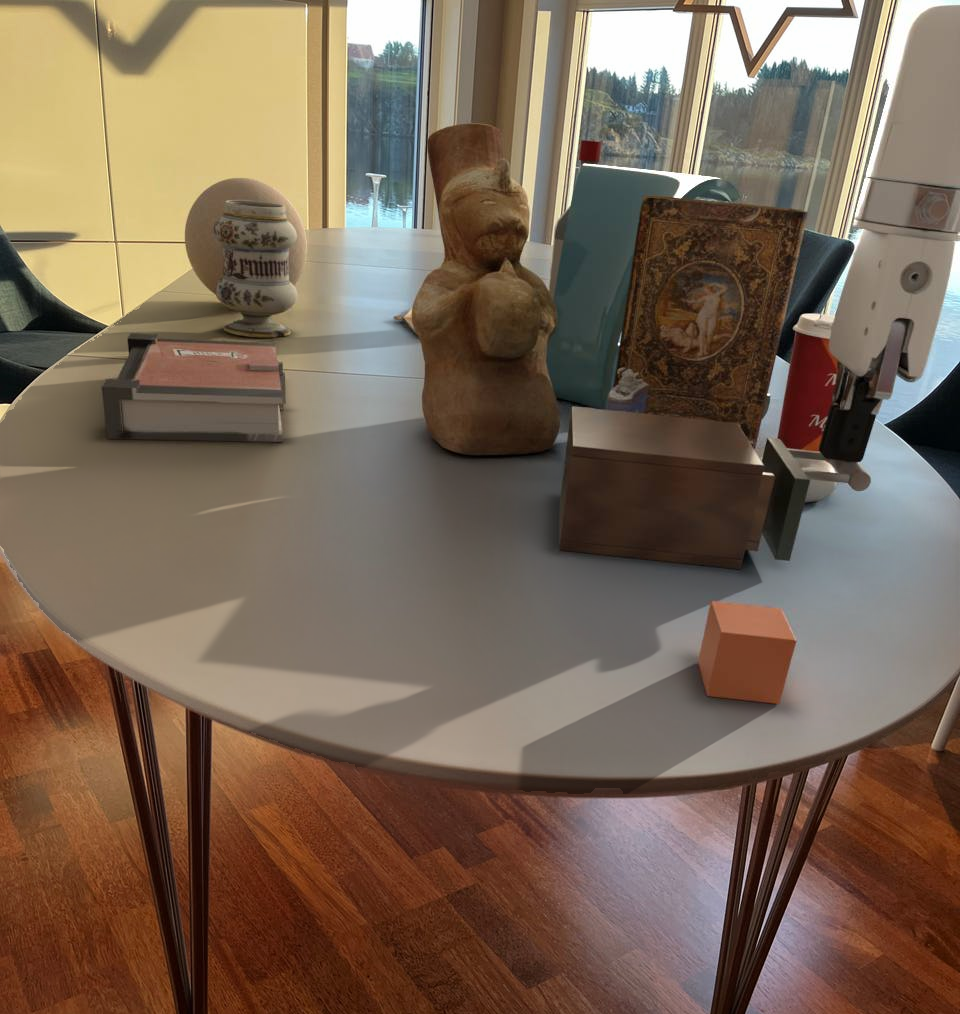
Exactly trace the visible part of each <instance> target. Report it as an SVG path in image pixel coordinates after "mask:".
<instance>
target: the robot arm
mask: <svg viewBox="0 0 960 1014" xmlns="http://www.w3.org/2000/svg"><path fill="white" fill-rule="evenodd" d="M895 62H896V63H895V66H894V70H893V73H892V78H891V82H890V84H889V88H888V93H887V97H886V99H885V103H884V107H883V111H882V115H881V118H880V123H879V127H878V130H877V133H876V136H875V140H874V145H873V148H872V151H871V156H870V158H869V163H868V166H867V170H866V174H865V178H864V181H863V185H862V188H861V193H860V196H859V199H858V203H857V207H856V210H855V211H856V212H855V213H854V214H855V215H854V219H853V223H852V228H855V229H858V230H861V233H860V236H859V239H858V241H857V245H856V247H855V250H854V252H853V256H852V259H851V261H850V265H849V268H848V271H847V274H846V277H845V280H844V284H843V287H842V290H841V292H840V293H841V294H840V296H839V300H838V303H837V307H836V310H835V314H834V315H835V318H834V322H833V326H832V330H831V335H830V340H829V350H830V353H831V354H832V355H833V356H834V357H835V358H836V359H837V360H838V363H837V369H838V375H837V380H836V384H835V388H834V392H833V397H832V403H833V404H838V405H833V404H831V406H830V410H829V413H828V417H827V420H826V424H825V428H824V431H823V435H822V438H821V442H820V445H819V451H820V453H821V454H822V455H823V456H824V457H825V458H826V459H833V460H841V461H849V462H858V463H860V462H862V461H863V459H864V457H865V454H866V450H867V447H868V444H869V440H870V438H871V434H872V431H873V427H874V424H875V421H876V418H877V415H878V414H879V412H880V410H881V407H882V405H883V401H885V400H887V401H888V400H890V399H891V398H892V395H893V392H894V387H895V383H896V378H897V377H898V378H900V379H902V380H903V381H904V382H907V383H915V382H917V381H919V380H920V379H921V378H922V377H923V375H924V373H925V370H926V367H927V364H928V360H929V357H930V353H931V349H932V346H933V342H934V339H935V335H936V332H937V329H938V324H939V321H940V317H941V314H942V310H943V305H944V302H945V298H946V293H947V289H948V285H949V280H950V276H951V271H952V266H953V265H952V264H953V259H954V253H955V245H956V242H960V4H948V5H936V6H931V7H928V8H925V9H922V10H921V11H920V12H918V13H917V14H915V16H914V17H913V18H911V21H910V22H909V23H908V25H907V27H906V29H905V31H904V34H903V37H902V40H901V44H900V48H899V51H898V55H897V58H896V61H895Z"/></svg>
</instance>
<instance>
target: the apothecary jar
mask: <svg viewBox="0 0 960 1014" xmlns="http://www.w3.org/2000/svg"><path fill="white" fill-rule="evenodd" d="M214 234H215V236H216V238H217V239H218V240H219V241H220V242H221V243H222V244H223V276H222V277H221V278H220V279H219V280H218V282H217V283H216V286H215V294H216V295H215V294H214V295H215V297H216V298H217V300H218V301H219V302H220V303H221V304H222V305H223V306H225V307H226V308H228V309H230V310H231V311H234V312H237V313H240V314H241V315H242V318H240V319H235V320H233V322H229V323H228V324H226V325H225V326H224V327H223V330H224V332H226V333H227V334H231V335H235V336H239V337H246V338H256V339H274V338H277V337H288V336H290V334H291V330H290V329H289V328H288V327H286V326H284V325H282V324H281V323H280V322H278V321H275V320H271V317H272V316H274V315H278V314H282V313H284V312H286V311H288V310H290V309H292V307H293V306H294V305H295V304H296V302H297V300H298V290H297V288H296V287H295V286H294V285H293V284H292V283H291V282H290V281H289V265H288V252H289V248H290V247H291V246H292V245H293V244H294V243H295V241H296V238H297V234H296V230H295V228H294V227H293V226H292V224H291V223H289V222H288V221H287V217H286V214H285V207H284V206H283V205H280V204H276V203H269V202H262V201H251V200H228V201H226V202H225V210H224V213H223V216H222V217H220V218H219V219H218V220H217V221H216V223H215V225H214Z"/></svg>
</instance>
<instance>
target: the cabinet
mask: <svg viewBox="0 0 960 1014" xmlns="http://www.w3.org/2000/svg"><path fill="white" fill-rule="evenodd" d="M565 448H566V449H565V455H564V462H563V471H562V472H563V473H562V479H561V486H560V495H559V525H558V527H559V532H558V551H564V552H565V551H566V552H573V553H575V552H576V553H583V554H584V553H585V554H591V555H601V556H612V557H621V558H630V559H641V560H647V561H648V560H649V561H650V560H651V561H658V562H659V561H660V562H667V563H668V562H669V563H677V564H685V565H686V564H688V565H696V566H704V567H715V568H725V569H734V570H742V566H743V561H744V558H745V557H744V556H745V553H746V550H745V548H746V544H747V540H748V535H749V531H750V527H751V522H752V518H753V514H754V509H755V505H756V501H757V496H758V492H759V488H760V483H761V479H762V474H763V470H764V465H763V463H762V461H761V460H760V458H759V457H758V455H757V453H756V452H755V450H754V449H753V447H752V445H751V444H750V442H749V441H748V439H747V437H746V436H745V434H744V433H743V431H742V429H741V428H740V426H739V425H738V423H732V422H722V421H712V420H703V419H693V418H683V417H673V416H663V415H653V414H644V413H634V412H624V411H614V410H604V409H594V408H592V407H583V406H575V405H573V406H572V405H571V408H570V417H569V424H568V431H567V440H566V447H565Z"/></svg>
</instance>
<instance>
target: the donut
mask: <svg viewBox="0 0 960 1014" xmlns="http://www.w3.org/2000/svg"><path fill="white" fill-rule="evenodd" d="M754 450H755V452H756V453H757V455H758V457H759V458H760V460H761V461H762V458H763V454H764V450H765V446H764V447H756V448H755V449H754ZM794 459H795V460H796V461H797V463H798V464H799V465H800V467H801V468H802V470H812V471H821V472H831V473H837V471H836V469H835V468H834V467H833V466H832V464H831V463H830V462H829V463H828V462H826V461H823V460H814V459H804V458H794ZM837 484H838V482H830V481H820V480H811V479H810V484H809V487H808V491H807V495H806V499H805V503H812V502H819V501H821V500H823V499H826V498H828V497H829V496H830V495H831V494H832V493H833V492H834V490H835V488H836V486H837Z"/></svg>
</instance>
